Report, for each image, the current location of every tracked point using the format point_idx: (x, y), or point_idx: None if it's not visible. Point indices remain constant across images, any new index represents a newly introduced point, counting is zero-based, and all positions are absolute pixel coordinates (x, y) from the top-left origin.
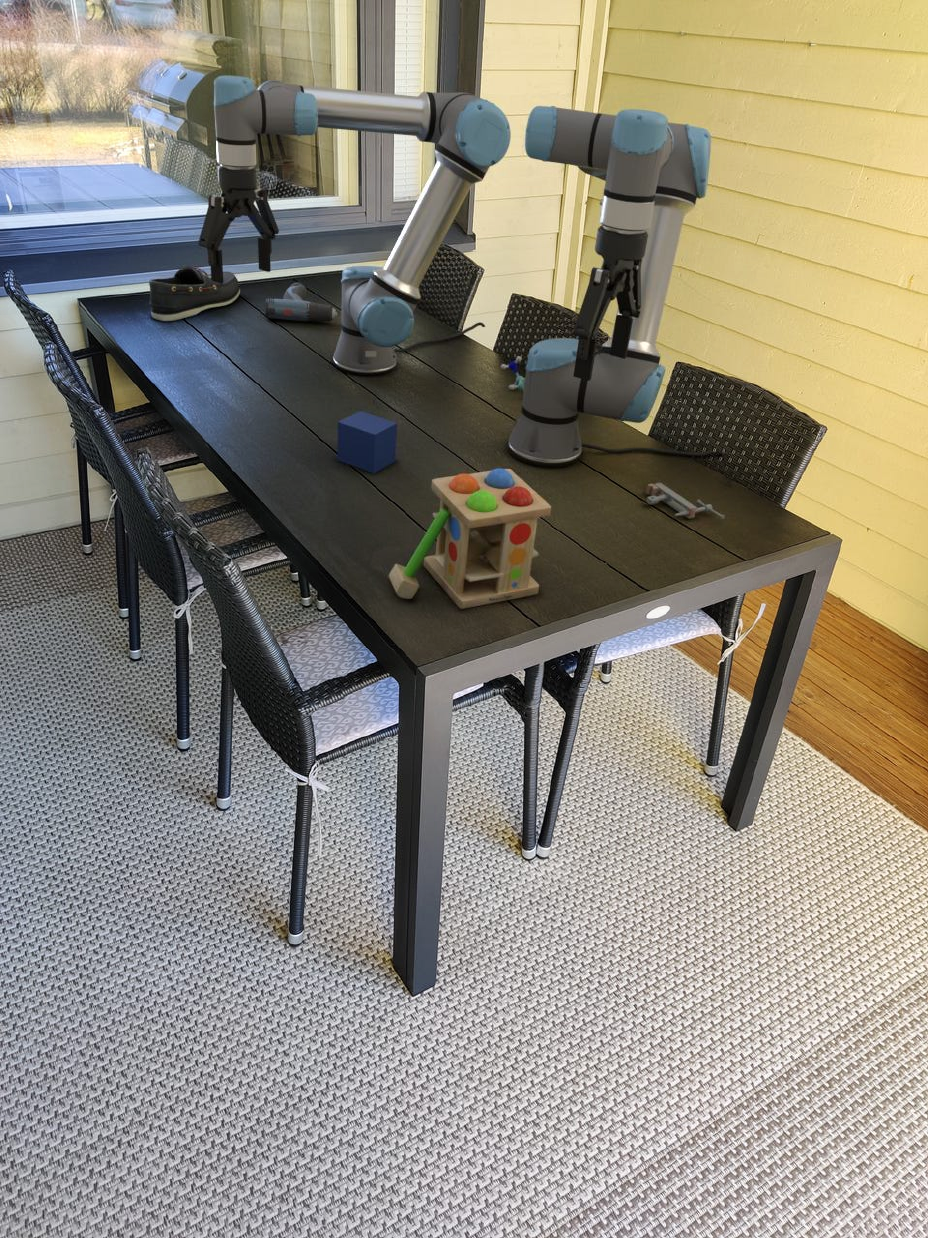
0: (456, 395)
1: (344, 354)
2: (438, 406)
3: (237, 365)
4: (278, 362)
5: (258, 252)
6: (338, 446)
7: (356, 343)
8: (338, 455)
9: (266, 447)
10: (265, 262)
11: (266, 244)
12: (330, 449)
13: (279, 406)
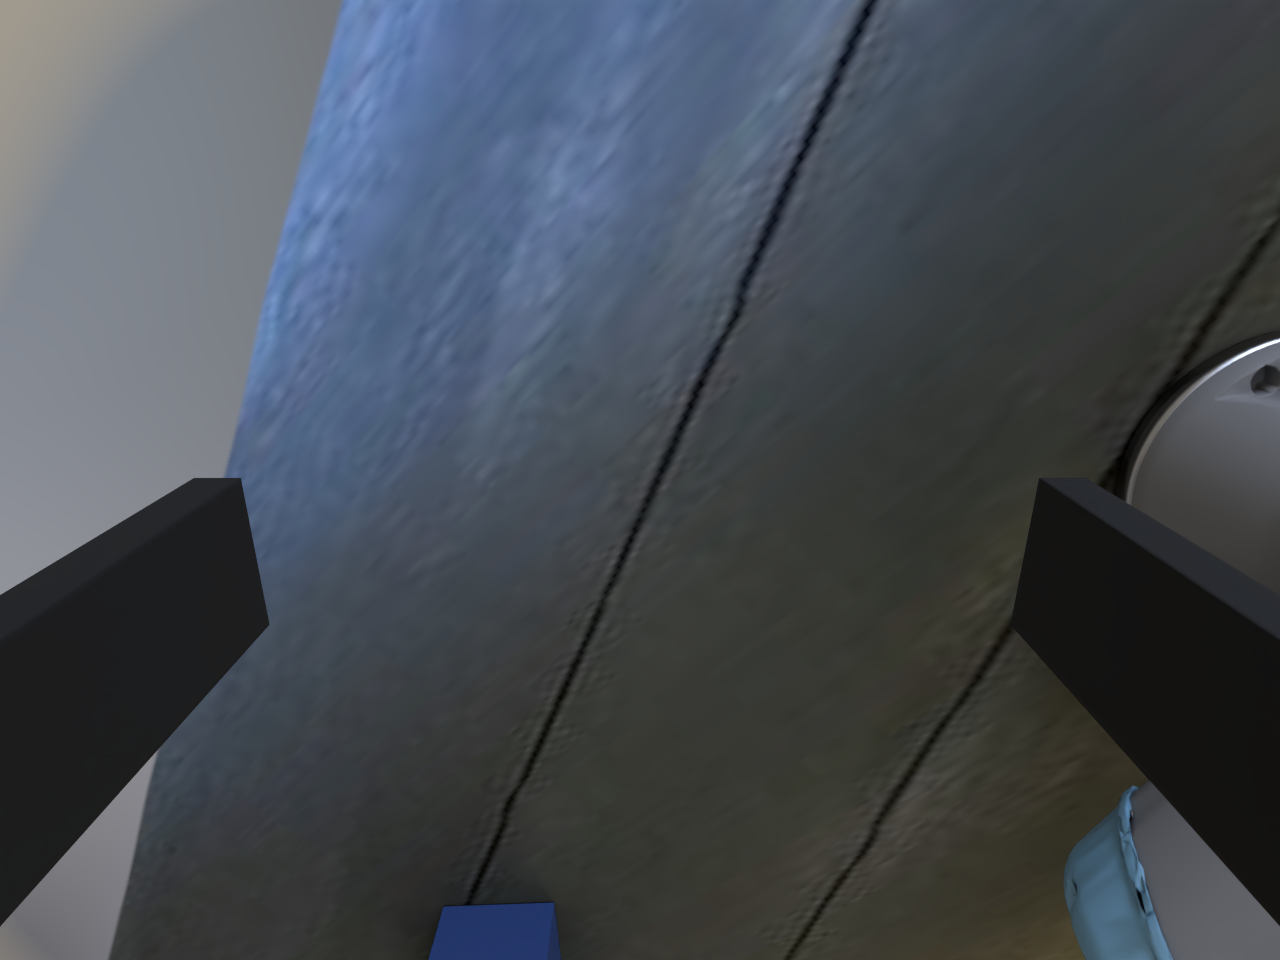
0: None
1: (1184, 491)
2: (1012, 881)
3: (865, 31)
4: (1042, 159)
5: (1181, 585)
6: (430, 952)
7: (1245, 570)
8: (439, 924)
9: (332, 731)
10: (1073, 649)
11: (1267, 891)
12: (483, 854)
13: (616, 537)
